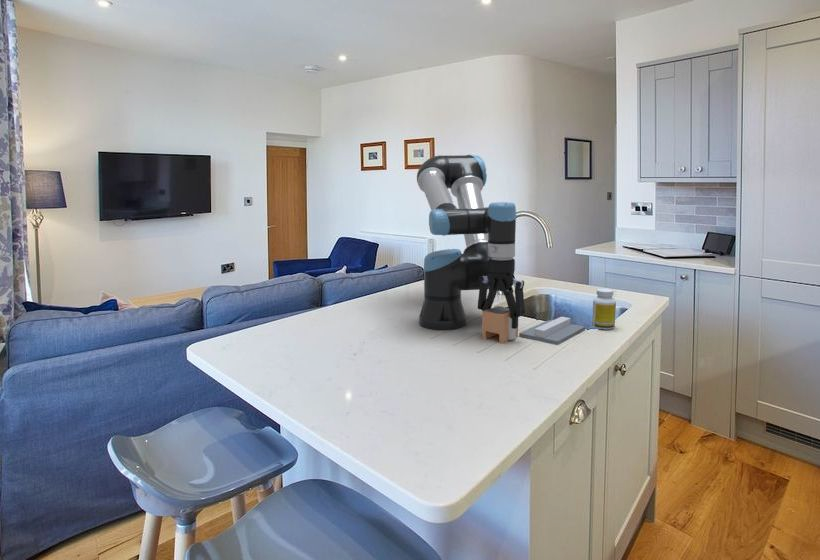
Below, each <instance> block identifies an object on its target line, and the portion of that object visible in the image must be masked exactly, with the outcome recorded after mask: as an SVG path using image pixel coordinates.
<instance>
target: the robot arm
mask: <svg viewBox="0 0 820 560" xmlns="http://www.w3.org/2000/svg"><path fill="white" fill-rule="evenodd" d="M416 174H417V175H416V182H417V185H418V188H419V190H420V191H422V192H423V193H424V196H425V198H426V200H427V202H428V205H429V208H430V212H429V214H428V226H429V227H428V228H429V231H430V233H431V235H433V236H455V235H463V237H464V241H465V242H464V243H465V246H466V247H465V248H464V250H463V253H462V251H461V249H459V248H452V249H450V248H447V249H440V250H437V251H432V252H430V253H427V254H426V255H425V257H424V259H423V260H424V261H423V287H424V288H423V290H424V292H423V293H424V294H423V295H424V299H423V300H424V301H423V304H422V306H421V309H420V314H419V318H418V319H419V321H418V323H419V325H420V326H421V327H424V328H427V329H432V330H455V329H459V328H463V327H465V326H466V325H467V315H466V313H465V309H464V305H463V302H462V291H476V290H477V291H478V298H477V299H478V300H477V309H478V310H480V311H485V310H488V309H491V308H493V305H494V302H495V299H496V296H497V293H498V291H500V292H502V294H503V295H504V297H505V301H506V303H507V308H509V311H510V314H511V317H509V318H508V341H512V340H514V339H516V337H515V333H516V328H518V329H519V317H523V316H524V315H525V314H526V313H525V312H526V311H525V310H526V309H525V300H524V299H525V295H524V286H525V281H524V280H518V279H516V277H515V270H516V260H515V257H516V230H517V229H516V227H517V207H516V204H515V203H514V202H506V201H505V202H504V201H501V202H498V201H497V202H491V203H489V205H488V207H487V206H486V207H485V205H484V200H483V197H482V190H483V189H484V187H485V185H486V182H487V176H488V175H487V167H486V163H485V161H484V159H483V158H482V157H481V156H480V155H475V154H473V155H472V154H466V155H465V154H463V155H459V154H458V155H436V156H433V157H429V158H428V159H426V160H425V161H424V162H423V163H422V164H421V165H420V167H419V168H418V170H417V173H416ZM449 189H450V191H449ZM450 192H451V193H450ZM451 194H452V195H451ZM452 196H454V197H455V198H456V201H457V206H456V203H455V201H454V199H453V198H452ZM457 207H458V208H457ZM513 287H514V289H513Z"/></svg>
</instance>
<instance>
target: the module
mask: <svg viewBox="0 0 820 560" xmlns="http://www.w3.org/2000/svg"><path fill="white" fill-rule="evenodd" d="M481 311H482V310H481ZM481 317H482V318H481V319H482V320H481V328H482V329H481V338H482V339H483V340H486V339H489V338H492V337H493V336H497V335H498V336H499V337H498V339H499V343H501V344H504V343H506V342H508V341H509V340H508V318H509V317H511V314H510V311H509V308H508V307H505V306H501V305H497V306H496V305H495V306H492V307H491V309H488V310H485V311H482V315H481ZM518 337H519V327H518V328H516V333H515V338H518Z"/></svg>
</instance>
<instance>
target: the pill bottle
mask: <svg viewBox="0 0 820 560" xmlns="http://www.w3.org/2000/svg"><path fill="white" fill-rule="evenodd" d="M596 296H597V297H595V298H594V299H593V301H592V318H591V319H592V321H591V326H592V327H593V328H595V329H598V330H602V329H603V330H605V331H606V330H607V331H608V330H609V331H610V330H614V328H615V324H616V306H617V300H616V299H615V298H614V297H613V296H614V290H613V289H611V288H610V289H609V288H598V289H596Z"/></svg>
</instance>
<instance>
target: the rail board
mask: <svg viewBox="0 0 820 560" xmlns="http://www.w3.org/2000/svg"><path fill="white" fill-rule="evenodd" d="M571 321H572V320H571V317H567V316H560V317H557V318H555V319H553V320H551V319H548V320H546V321H543V322H541V323H539V324H536V325H535V326H532V327H530V328H527V329H526V330H523V331H521V332H518V337H520V338H526V339H529V340H534V341H538V342H543V343H548V344H553V345H555V346H558V345H560V344H562V343H564V342H565V341H568V340H569V339H571V338H573V337H575V336H576V335H578V334H581V333H582V332H584V331H586V326H583V325H578V324H573V323H572V322H571Z"/></svg>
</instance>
